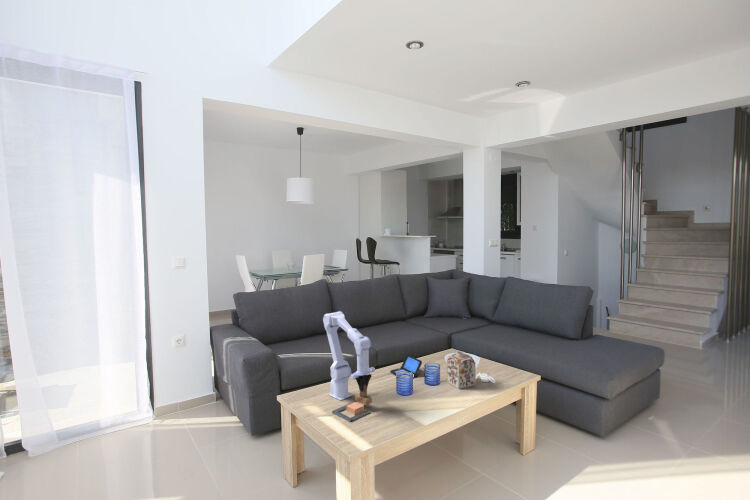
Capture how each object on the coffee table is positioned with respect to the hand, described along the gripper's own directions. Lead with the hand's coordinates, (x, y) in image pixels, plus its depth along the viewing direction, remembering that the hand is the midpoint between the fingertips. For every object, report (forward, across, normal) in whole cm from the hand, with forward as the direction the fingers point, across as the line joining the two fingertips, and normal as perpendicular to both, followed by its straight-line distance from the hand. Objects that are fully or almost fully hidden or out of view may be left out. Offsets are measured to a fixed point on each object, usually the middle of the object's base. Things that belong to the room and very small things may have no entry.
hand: (363, 389), depth 204 cm
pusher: (+6, 0, 0) cm, 6 cm away
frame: (+9, -8, 0) cm, 12 cm away
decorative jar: (+9, +58, -18) cm, 61 cm away
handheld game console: (+10, +48, +14) cm, 51 cm away
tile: (+9, -6, 0) cm, 11 cm away
